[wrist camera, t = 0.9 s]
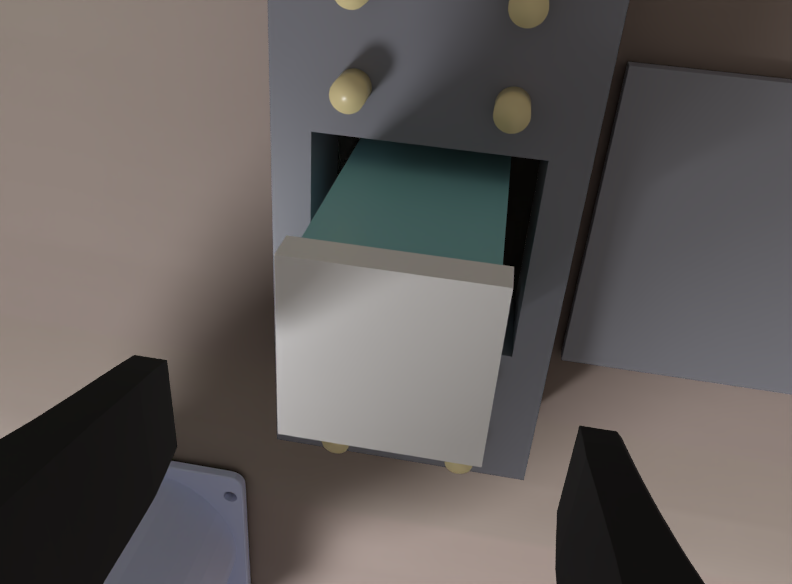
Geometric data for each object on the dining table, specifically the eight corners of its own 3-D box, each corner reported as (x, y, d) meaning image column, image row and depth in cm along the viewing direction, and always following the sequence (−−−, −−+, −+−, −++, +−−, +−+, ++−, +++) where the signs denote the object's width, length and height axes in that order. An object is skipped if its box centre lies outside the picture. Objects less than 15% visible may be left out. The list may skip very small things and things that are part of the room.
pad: (828, 392, 22) (832, 400, 22) (561, 352, 23) (561, 360, 23) (968, 98, 18) (977, 103, 17) (627, 61, 19) (629, 65, 18)
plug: (498, 278, 22) (481, 467, 16) (354, 258, 23) (277, 433, 16) (520, 138, 20) (512, 288, 13) (360, 118, 20) (273, 254, 14)
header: (524, 414, 25) (523, 500, 22) (302, 379, 26) (269, 457, 22) (623, -60, 17) (643, -38, 14) (304, -89, 18) (253, -75, 15)
